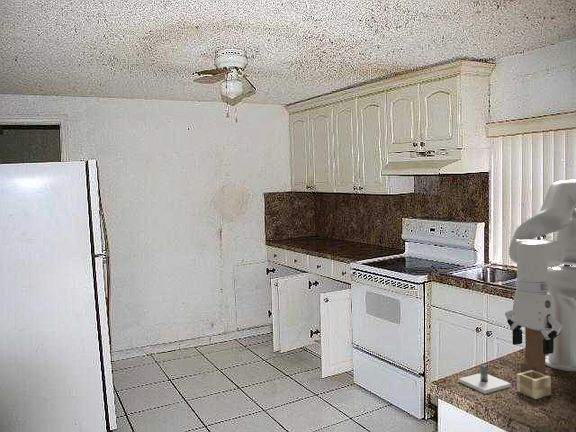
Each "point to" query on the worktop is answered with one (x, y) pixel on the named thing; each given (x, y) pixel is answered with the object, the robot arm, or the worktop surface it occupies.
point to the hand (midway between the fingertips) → (532, 348)
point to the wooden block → (533, 352)
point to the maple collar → (534, 384)
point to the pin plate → (485, 385)
